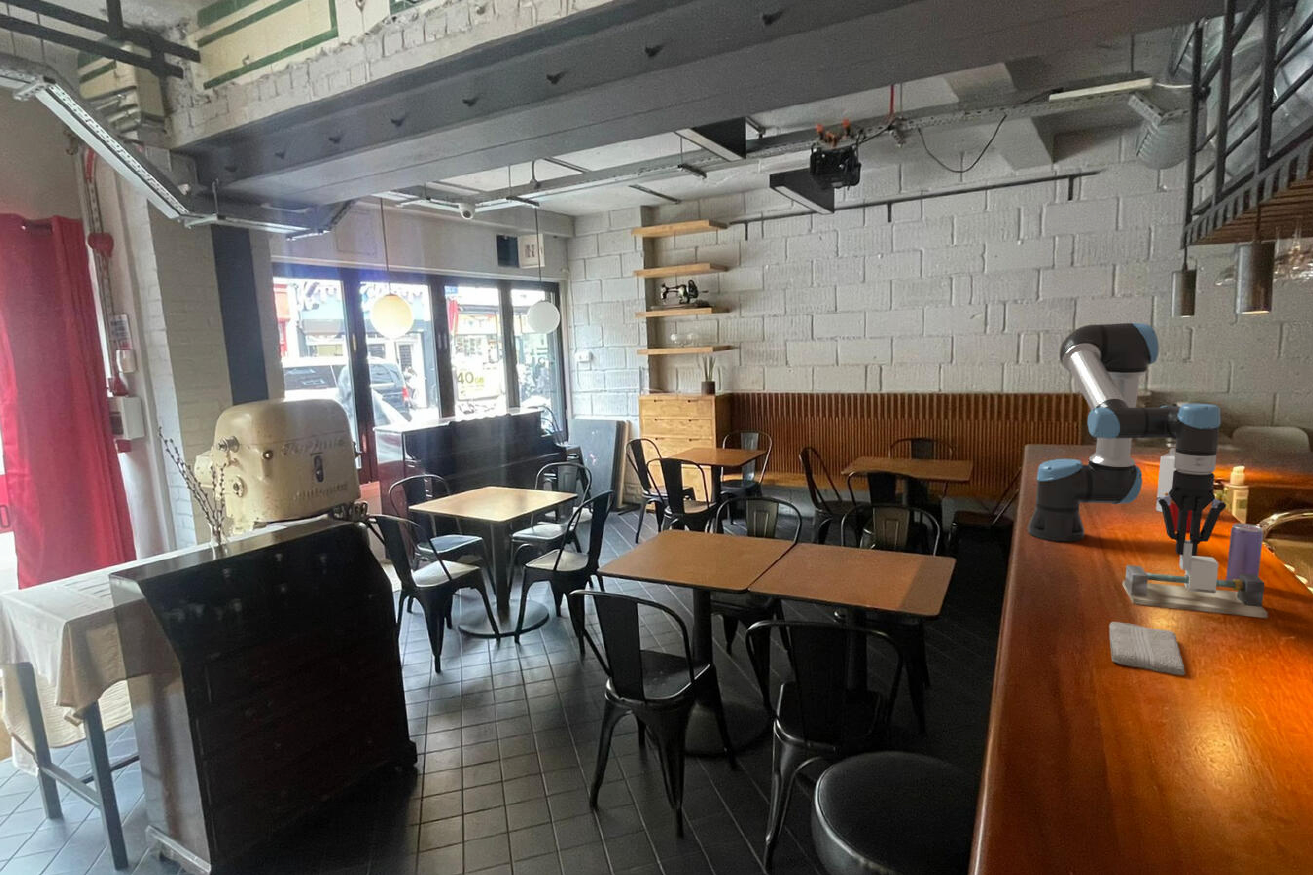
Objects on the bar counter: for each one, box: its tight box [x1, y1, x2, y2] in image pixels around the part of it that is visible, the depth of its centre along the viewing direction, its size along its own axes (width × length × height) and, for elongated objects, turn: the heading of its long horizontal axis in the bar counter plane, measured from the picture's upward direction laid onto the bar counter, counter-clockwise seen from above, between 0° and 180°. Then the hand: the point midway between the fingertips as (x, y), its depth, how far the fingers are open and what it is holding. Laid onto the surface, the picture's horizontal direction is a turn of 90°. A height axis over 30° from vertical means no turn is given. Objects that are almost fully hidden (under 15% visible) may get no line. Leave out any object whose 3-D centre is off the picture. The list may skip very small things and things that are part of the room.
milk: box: [1155, 447, 1177, 513], centre depth 229 cm, size 6×6×22 cm
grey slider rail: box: [1122, 564, 1269, 619], centre depth 162 cm, size 25×12×7 cm, turn 66°
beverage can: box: [1225, 523, 1264, 581], centre depth 169 cm, size 6×6×15 cm
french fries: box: [1165, 493, 1192, 534], centre depth 211 cm, size 8×4×12 cm, turn 57°
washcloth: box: [1108, 621, 1186, 676], centre depth 140 cm, size 12×18×3 cm, turn 150°
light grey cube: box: [1183, 555, 1219, 593], centre depth 161 cm, size 5×4×7 cm
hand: (1184, 568), depth 162 cm, fingers closed
